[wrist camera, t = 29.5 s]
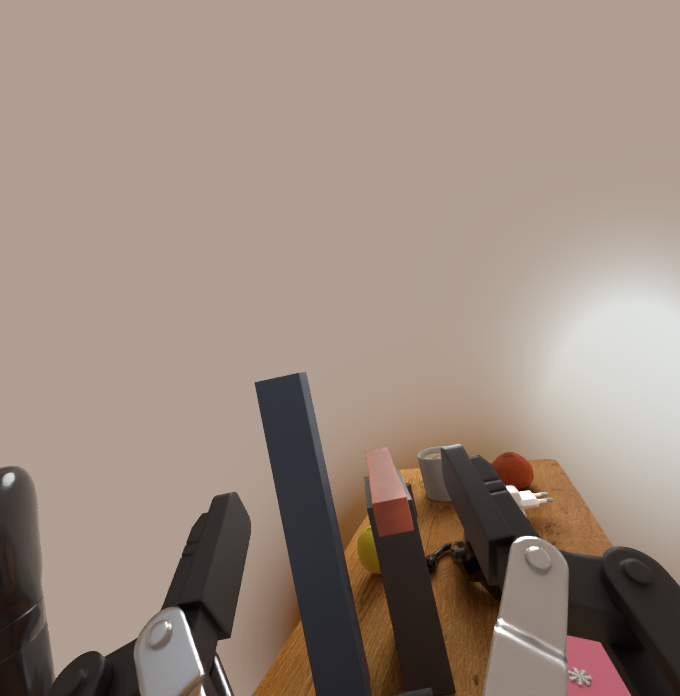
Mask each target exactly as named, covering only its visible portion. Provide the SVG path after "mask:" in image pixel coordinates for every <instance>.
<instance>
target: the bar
mask: <svg viewBox="0 0 680 696" xmlns="http://www.w3.org/2000/svg"><path fill="white" fill-rule="evenodd" d="M366 459H367V467H368V474H369V484H370V492H371V500H372V507H373V511H374V516H375V520H376V525H377V530H378V534H379V537H383V536H388V535H393V534H398V533H403V532H408V531H413V530H414V527H413V522H412V518H411V513H410V509H409V504H408V500H407V496H406V494H405V491H404V489H403V486H402V484H401V481H400V479H399V476H398V474H397V471H396V469H395V466H394V464H393V461H392V458H391V456H390V454H389V451H388V448H387V447H383V448H378V449H374V450H369V451H366Z"/></svg>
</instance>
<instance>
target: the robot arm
mask: <svg viewBox="0 0 680 696" xmlns="http://www.w3.org/2000/svg"><path fill="white" fill-rule="evenodd" d="M440 452H441V462H442V473H443V479H444V483H445V486H446V489H447V492H448V494H449V497H450V499H451V501H452V503H453V506H454V508H455V510H456V512H457V515H458V517H459V519H460V521H461V524H462V526H463V528H464V530H465V533H466V535H467V537H468V539H469V542H470V544H471V546H472V549H473V551H474V553H475V555H476V558H477V560H478V562H479V564H480V567H481V569H482V571H483V573H484V576H485V578H486V580H487V582H488V585H489V586H492V585H497V584H499V586H500V588H501V590H502V598H501V603H500V609H499V614H498V619H497V622H496V624H495V627H494V632H493V637H492V642H491V648H490V653H489V659H488V664H487V670H486V675H485V681H484V687H483V692H482V696H567V694H568V661H567V657H566V647H567V635H568V636H573V637H578V638H582V639H587V640H592V641H596V642H600V643H601V645H602V646H603V648H604V650H605V651H606V653H607V655H608V657H609V658H610V660H611V662H612V663H613V665H614V667H615V669H616V670H617V672H618V674H619V675H620V677H621V679H622V681H623V682H624V684H625V686H626V688H627V689H628V691H629V693H630V694H631V696H680V586H679V585H678V584H677V583H676V581H675V580H674V579H673V578H672V577H671V576H670V575H669V573H668V572H667V571H666V570H665V569H664V568H663V567H662V566H661V565H660V564H659V563H658V562H656V561H655V560H654V559H652V558H651V557H649V556H648V555H646V554H644V553H642V552H640V551H638V550H635V549H632V548H628V547H621V546H619V547H612V548H609V549H607V550H606V551H605V552H604V554H603V556H602V557H597V556H590V555H582V554H575V553H569V552H565V551H562V550H560V549H557V548H556V547H554V546H553V545H552V544H550V543H549V542H547V541H545V540H543V539H542V538H541V537H540V536H539V535H538V534H537V533H536V532H535V530H534V529H533V527H532V526H531V524H530V523H529V521H528V520H527V518H526V517H525V515H524V514H523V512H522V511H521V509H520V507H519V506H518V504H517V503H516V501H515V500H514V498H513V497H512V495H511V494H510V492H509V491H508V490H507V488H506V486H505V484H504V483H503V481H502V480H501V479H500V477H499V475H498V474H497V472H496V471H495V469H494V468H493V466H492V465H491V464H490V463H489V462H487V461H486V460H485V459H483V458H482V457H481V456H480V455H477V456H472V457H469V456H468V455H467V453H466V451H465V449H464V448H463V446H462V445H461V444H456V445H451V446H446V447H442V448H441V449H440ZM250 535H251V521H250V517H249V515H248V513H247V511H246V509H245V507H244V506H243V504H242V501H241V500H240V498H239V496H238V494H237V493H236V492H231V493H227V494H222V495H217V496H215V497H214V498H213V500H212V503H211V506H210V509H209V511H208V513H203V514H202V515H201V516H200V517H199V519H198V520H197V522H196V523H195V524H194V526H193V527H192V529H191V532H190V535H189V537H188V540H187V545H186V546H185V548H184V550H183V553H182V558H181V559H180V561H179V564H178V566H177V569H176V572H175V574H174V577H173V580H172V582H171V585H170V588H169V590H168V593H167V596H166V598H165V601H164V604H163V606H162V608H161V610H160V612H158V613H157V614H156V615H154V616H153V617H152V618H151V619H150V620H149V621H148V623H147V624H146V625H145V626H144V628H143V629H142V631H141V633H140V634H139V636H138V638H136V639H135V640H133V641H132V642H130V643H128V644H126V645H125V646H123V647H121V648H119V649H118V650H116V651H114V652H112V653H110V654H109V655H107V656H105V657H104V656H102V655H101V654H100V653H99V652H96V651H90V652H87V653H84V654H82V655H80V656H79V657H77V658H76V659H75V660H74V661H72V662H71V663H70V664H69V665H68V666H67V667H66V668H65V669H64V670H63V671H62V672H61V673H60V674H59V676H58V677H57V678H56V679H55V673H54V667H53V659H52V654H51V653H52V652H51V646H50V639H49V632H48V625H47V619H46V612H45V605H44V598H43V590H42V553H41V545H40V534H39V518H38V503H37V494H36V490H35V485H34V483H33V480H32V478H31V476H30V475H29V474H28V472H27V471H25V470H24V469H23V468H21V467H18V466H8V467H2V468H0V696H234V694H233V692H232V689H231V686H230V684H229V681H228V679H227V676H226V673H225V671H224V668H223V666H222V663H221V661H220V658H219V656H218V654H217V652H216V646H217V641H218V640H223V639H227V638H230V637H231V632H232V627H233V621H234V616H235V611H236V606H237V601H238V596H239V591H240V586H241V581H242V576H243V571H244V565H245V560H246V555H247V550H248V545H249V540H250ZM391 696H433V693H432V689H431V687H430V688H425V689H420V690H414V691H409V692H403V693H398V694H393V695H391Z"/></svg>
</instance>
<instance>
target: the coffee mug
mask: <svg viewBox="0 0 680 696" xmlns="http://www.w3.org/2000/svg"><path fill="white" fill-rule="evenodd" d="M442 447H446V446H440V447H433V448H429V449H426V450H423V451H421V452H420V453H418V460H419V465H420V469H421V473H422V478H423V482H424V486H425V491H426V495H427V497H428V498H429V499H431V500H434V501H440V502H447V501H451V499H450V497H449V494H448V492H447V489H446V486H445V483H444V479H443V473H442V462H441V452H440V449H441V448H442Z"/></svg>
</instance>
